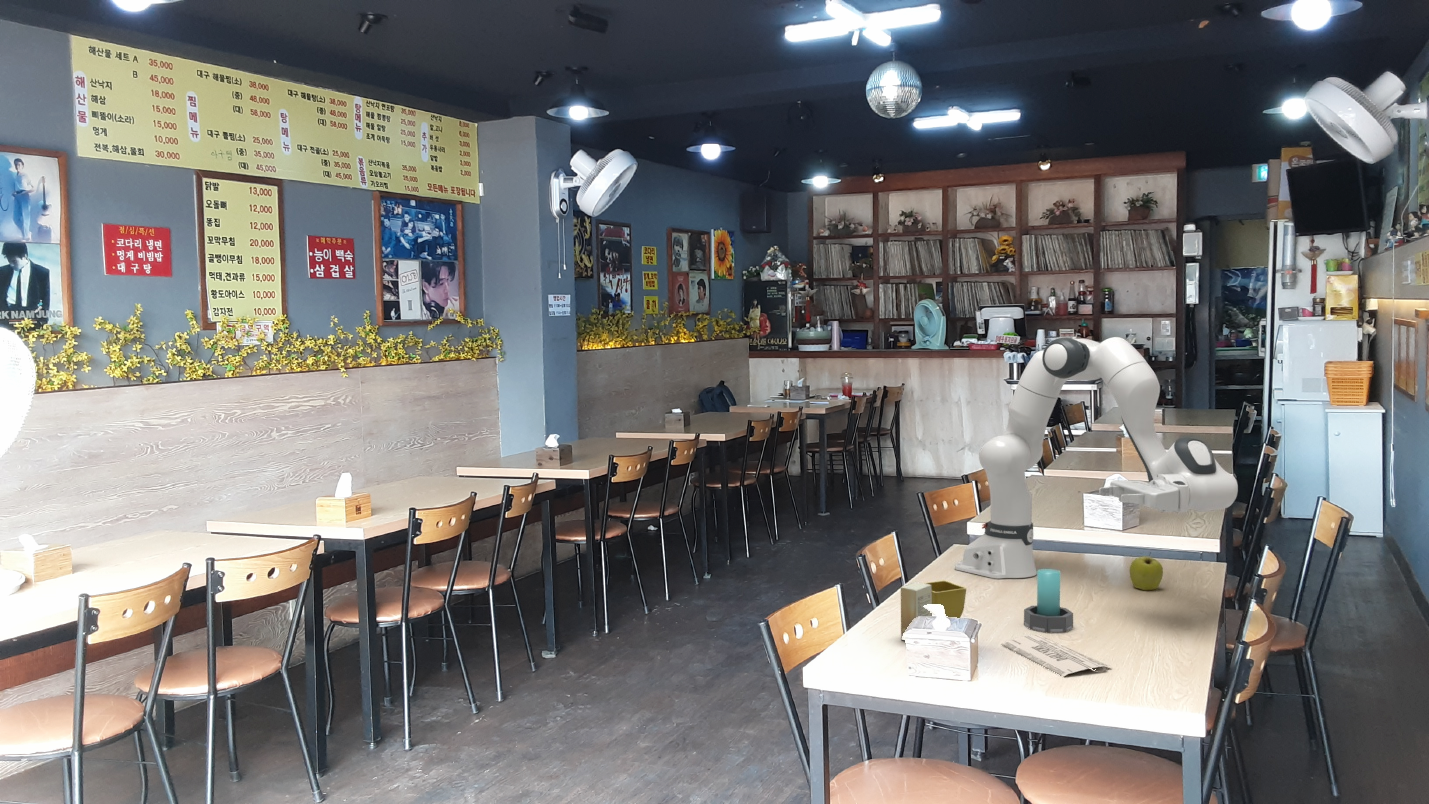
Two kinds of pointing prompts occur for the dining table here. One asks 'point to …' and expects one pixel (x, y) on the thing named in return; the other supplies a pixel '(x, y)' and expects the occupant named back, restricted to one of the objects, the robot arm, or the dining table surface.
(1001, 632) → the dining table surface
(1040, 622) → the barrel ring
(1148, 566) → the apple
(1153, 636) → the dining table surface
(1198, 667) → the dining table surface
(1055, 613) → the teal pillar candle
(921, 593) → the skincare box
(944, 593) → the flower pot
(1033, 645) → the newspaper
